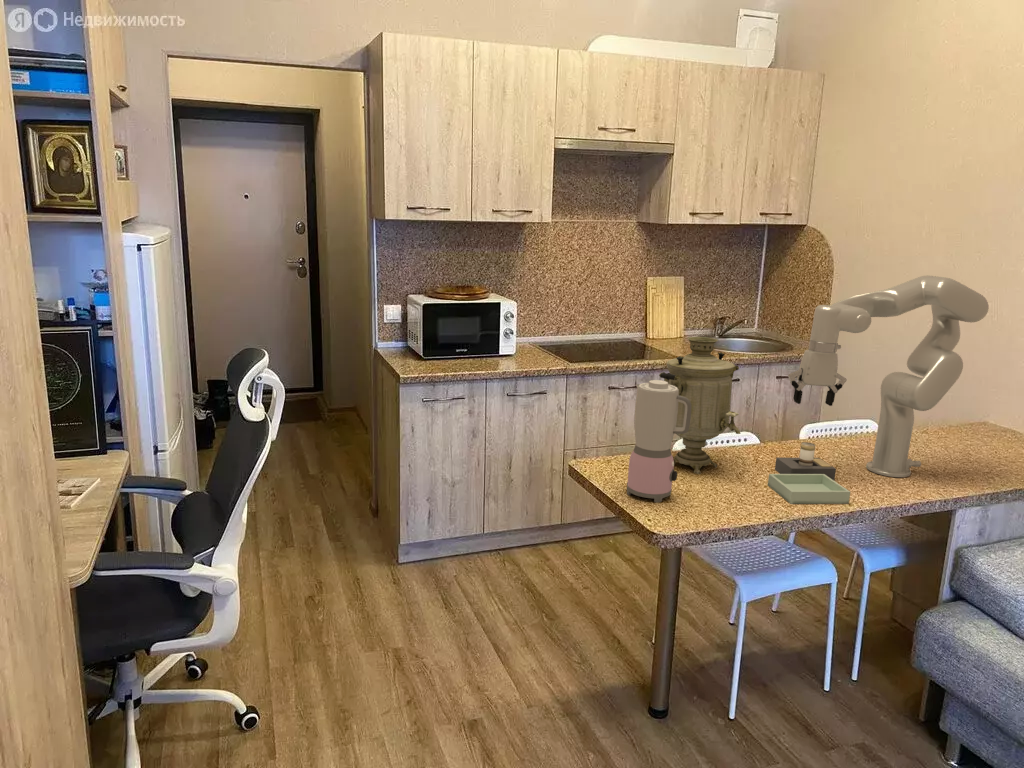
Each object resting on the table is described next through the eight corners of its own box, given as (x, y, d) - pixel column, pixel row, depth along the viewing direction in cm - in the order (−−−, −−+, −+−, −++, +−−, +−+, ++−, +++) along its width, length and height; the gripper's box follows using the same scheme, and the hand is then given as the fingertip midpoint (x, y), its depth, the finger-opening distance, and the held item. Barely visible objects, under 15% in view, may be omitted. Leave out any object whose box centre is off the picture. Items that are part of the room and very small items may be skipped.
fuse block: (817, 469, 230) (819, 457, 229) (834, 481, 220) (836, 467, 220) (774, 469, 229) (776, 456, 228) (789, 481, 219) (791, 467, 218)
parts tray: (822, 485, 217) (824, 474, 216) (848, 503, 203) (850, 491, 202) (767, 485, 215) (769, 473, 214) (790, 503, 201) (791, 491, 200)
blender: (619, 496, 202) (628, 382, 194) (634, 482, 212) (643, 374, 205) (675, 509, 194) (686, 391, 187) (688, 494, 205) (699, 383, 197)
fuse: (806, 473, 227) (811, 442, 224) (813, 477, 223) (818, 446, 221) (794, 473, 226) (798, 442, 224) (800, 477, 222) (805, 446, 220)
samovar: (680, 488, 209) (693, 350, 200) (632, 459, 233) (642, 334, 224) (763, 478, 220) (780, 347, 211) (709, 451, 244) (722, 332, 235)
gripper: (844, 347, 220) (835, 402, 224) (788, 343, 219) (779, 398, 223) (857, 351, 213) (847, 408, 217) (799, 347, 212) (789, 405, 216)
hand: (812, 403), depth 220 cm, fingers open, 9 cm apart
